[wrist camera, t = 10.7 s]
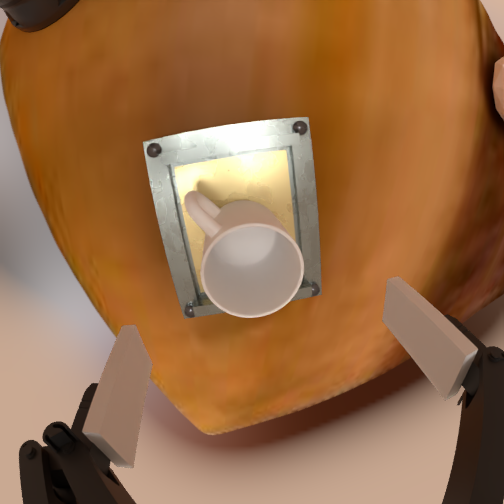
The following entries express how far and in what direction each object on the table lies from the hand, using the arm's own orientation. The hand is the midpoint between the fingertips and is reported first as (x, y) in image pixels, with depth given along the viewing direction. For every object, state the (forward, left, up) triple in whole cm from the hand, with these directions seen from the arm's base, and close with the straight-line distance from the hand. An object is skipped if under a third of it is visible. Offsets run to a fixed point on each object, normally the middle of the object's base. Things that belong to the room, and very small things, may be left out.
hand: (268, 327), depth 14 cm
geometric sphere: (-19, +56, -24) cm, 64 cm away
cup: (0, -1, -19) cm, 19 cm away
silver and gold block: (0, 0, -24) cm, 24 cm away
